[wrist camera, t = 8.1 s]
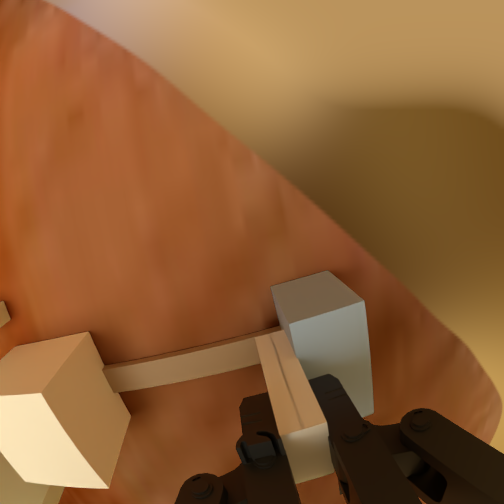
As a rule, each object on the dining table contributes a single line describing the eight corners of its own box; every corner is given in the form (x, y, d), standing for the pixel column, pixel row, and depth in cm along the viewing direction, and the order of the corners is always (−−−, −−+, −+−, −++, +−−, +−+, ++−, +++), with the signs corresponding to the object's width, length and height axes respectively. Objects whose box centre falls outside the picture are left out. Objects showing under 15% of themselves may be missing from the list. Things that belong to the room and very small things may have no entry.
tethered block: (57, 422, 17) (25, 481, 11) (15, 346, 15) (-37, 396, 9) (343, 366, 17) (386, 432, 12) (327, 270, 16) (381, 315, 10)
